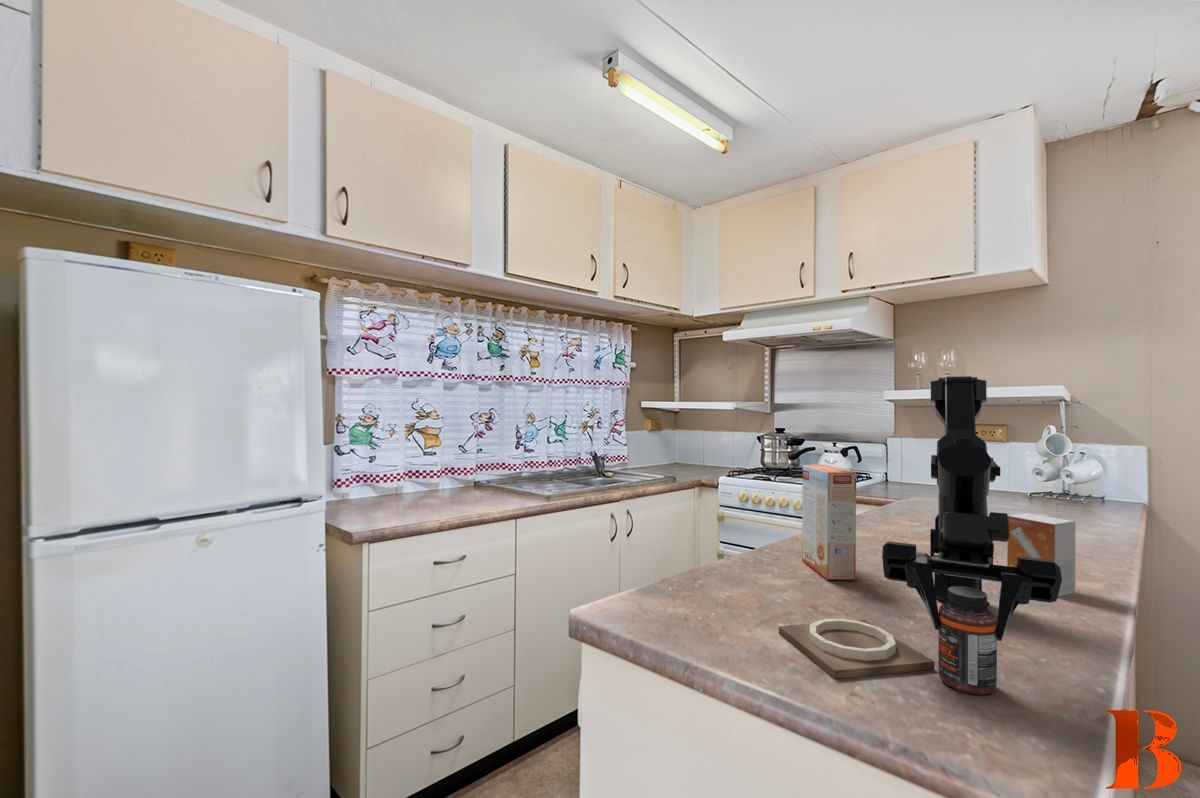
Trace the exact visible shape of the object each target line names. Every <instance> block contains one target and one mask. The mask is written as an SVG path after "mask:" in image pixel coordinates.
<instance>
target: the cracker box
mask: <svg viewBox="0 0 1200 798" xmlns="http://www.w3.org/2000/svg"><path fill="white" fill-rule="evenodd" d="M801 471H802V475H801V476H802V484H801V485H802V486H801V487H802V496H801V497H802V499H801V500H802V505H801V506H802V510H801V512H802V514H801V515H802V516H801V517H802V518H801V521H802V523H801V525H802V526H801V527H802V528H801V529H802V530H801V541H802V542H801V561H802V562H803V563H805V564H806V565H807V566H809V568H811V569H812V570H814V571H815V572H816V573H817V574H820V576H822V578H824V579H826V581H827V580H828V581H856V579H857V578H856V577H857V575H856V567H857V565H856V563H857V561H856V560H857V559H856V557H857V555H856V553H857V551H856V549H857V472H855V471H851V470H847V469H844V468H839V467H835V466H832V465H828V464H803V465H802V470H801Z"/></svg>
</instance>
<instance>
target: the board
mask: <svg viewBox="0 0 1200 798" xmlns="http://www.w3.org/2000/svg"><path fill="white" fill-rule="evenodd" d="M854 621H860V622H863V623H867V624H870V625H873V626H875V625H874V624H872V623H870V622H869V621H867V620H865V619H857V620H854ZM810 624H811V623H806V624H805V623H803V624H791V625H779V626H778V633H779V635H781V637H783V638H784V639H786V641H788V642H789V643H790V644H792V645H793V646H794V647H795V648H797V650H799V651H800V652H801V653H803V654H804V655H805V656H806V657H807V658H809V659H810V660H811V661H812V662H814V663H815V664H816V665H817V666H818V667H820V668H821V669H822V670H823V671H825V673H827V674H828V675H830V676H831V678H833V679H835V680H838V679H846V678H847V679H848V678H857V677H869V676H879V675H890V674H899V673H911V672H920V671H930V670H933V671H934V670H935V661H934V660H933V659H931V658H929V657H927V655H925V654H922V653H921V652H919V651H918V650H916V649H914V648H913V647H911V646H909V645H907V644H905V643H904V642H902V641H901V640H899V639H897V638H895V637H894V636H893V638H894V641H895V643H896V653H895V654H893V655H892V656H890V657H889V658H887V659H881V660H870V661H864V660H857V659H850V658H843V657H840V656H837V655H834V654H831V653H829V652H826V651H823V650H821V649H820V648H818V647H817V646H816V645H814V644H813V643H812V642H811V641H810ZM818 634H819V635H820V636H822V637H823V638H824V639H826V640H828V641H831V642H834V643H837V644H840V645H843V646H849V647H856V648H863V649H865V648H877V647H882V646H883V645H885V644H886V643H884V642H882V641H881V640H879V639H878V638H876V637H874V636H871V635H868V634H865V633H861V632H858V631H851V630H843V629H833V630H824V631H822V632H820V633H818Z"/></svg>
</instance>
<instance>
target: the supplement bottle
mask: <svg viewBox="0 0 1200 798" xmlns="http://www.w3.org/2000/svg"><path fill="white" fill-rule="evenodd" d="M947 598H948V601H947V602H946V603H945V602H944V603H943V604H941V605H940V607H939V608H938V613H939V630H937V631H938V656H937V657H938V663H937V664H938V667H937V668H938V677H939V678H940V680H941V681H942V682H944V683H945V684H946V685H947V686H948V687H951V688H953V689H955V690H957V691H959V692H964V693H966V694H972V695H973V694H974V695H979V696H980V695H989V694H993V693H994V692H995V691H996V690H997V683H998V682H997V680H998V678H997V677H998V675H997V674H998V672H997V671H998V666H997V664H998V658H997V657H998V653H997V652H998V640H997V617H996V615H995V614H994V612H992V611H991V610H990V609H989V608H988V606H987V605H988V603H987V601H988V595H987V593H986V592H985V591H983V590H982V591H981V590H978V589H975V588H971V587H964V586H952V587H949V588H948V596H947Z"/></svg>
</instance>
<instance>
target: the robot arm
mask: <svg viewBox="0 0 1200 798" xmlns="http://www.w3.org/2000/svg"><path fill="white" fill-rule="evenodd" d="M987 395H988V394H987V380H985V379H980V378H978V377H977V376H970V375H966V376H965V375H962V376H961V375H959V376H956V375H955V376H945V377H938V379H935V380H932V381H930V403H935V405H934V406H935V408H934V410H935V415H936V417H937V418H938V419H939V421H940V422H941V423H942V425H943V427H944V435H943V436H942V437H940V438H939V439H938V440H937V441H936V454H932V455H930V456H931V458H930V459H931V460H930V478H931V479H932V480H933V479H935V480H936V485H937V487H938V513H937V515H936V517H935V518H934V528H930V529H929V530H930V532H929V533H930V534H929V536H930V538H929V540H930V541H929V542H930V544H929V545H930V549H929V550H930V551H929V552H930V553H929V554H930V555H929V554H928V553H926V552H920V551H917V544H915V543H907V542H898V541H889V540H888V541H886V543H884V544H883V546H882V553H881V554H882V555H881V558H882V559H881V560H882V567H883V577H884V578H886V579H888V580H891V581H896V582H903V583H906V586H907V587H908V588H910V589H915V590H916V592H917V593H918V596H919V597H920V600H922V602H923V604H924V607H925V608H926V611H927V613H928V616H929V617H930V621H931V623H932V625H933V628H934V630H936V631H939V608H938V601H937V600H939V601H941V602H944V603H946V602H947V601H948V598H947V596H948V588H949V587H952V586H964V587H971V588H975V589H978V590H981V591H983V584H982V583H983V580H984V581H992V582H998V583H1000V584H1001V585H1000V590H999V591H1000V593H999V597H998V598H999V599H998V601H999V602H998V608H997V609H998V610H997V617H996V620H997V642H1002V641H1003V638H1004V636H1005V632H1006V630H1007V627H1008V625H1009V621H1010V619H1011V617H1012V615H1013V614H1014V613H1015V610H1016V609H1017V607H1018V606H1019V605H1028V604H1029V603H1030V601H1035V602H1036V601H1037V602H1042V603H1049V604H1051V603H1054V602H1057V601H1058V598H1059V597H1058V594H1059V590H1060V586H1061V582H1062V576H1061V570H1060V567H1059V565H1057V564H1056V563H1055V562H1054V561H1053V560H1048V559H1039V558H1031V557H1022V556H1018V560H1017V566H1016V567H1009V566H1007V565H1001V564H994V552H995V549H994V548H995V543H994V542H1003V543H1008V539H1009V523H1008V516H1009V515H1008V513H1006V512H995V511H991V512H990V511H988V500H987V499H988V498H987V497H988V496H989V492H990V483H994V482H995V481H996V478H997V477H1001V467H1000V466H999V465H998V464H997V462H996V461H995V459H994V457H991V456H990V455H989V453H988V447H987V442H986V441H984V439H982V438H980V437H979V436H978V435H977V430H976V420H977V419H978V418H979V416H980V415H981V410H982V404H985V403H987V400H988V399H987ZM988 513H989V514H988ZM993 541H994V542H993ZM987 603H988V605H987V606H986V607H988V606H990V605H991V602H989V600H987Z"/></svg>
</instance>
